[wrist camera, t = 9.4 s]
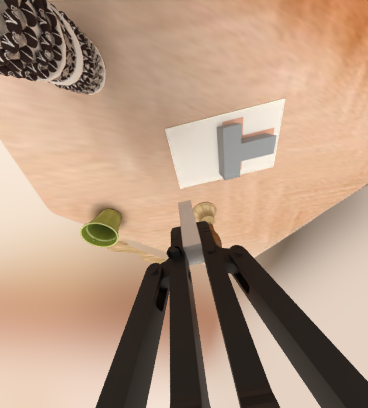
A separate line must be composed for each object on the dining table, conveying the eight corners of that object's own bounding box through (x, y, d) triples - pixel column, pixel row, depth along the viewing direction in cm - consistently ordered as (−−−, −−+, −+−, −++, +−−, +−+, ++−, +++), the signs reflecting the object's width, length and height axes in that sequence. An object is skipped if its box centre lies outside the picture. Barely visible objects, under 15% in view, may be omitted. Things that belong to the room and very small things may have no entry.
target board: (164, 129, 31) (164, 129, 31) (284, 98, 30) (285, 98, 30) (180, 188, 40) (180, 188, 39) (272, 166, 39) (273, 166, 38)
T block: (216, 127, 31) (223, 128, 28) (266, 114, 31) (280, 114, 27) (219, 174, 38) (224, 180, 34) (260, 164, 38) (270, 169, 34)
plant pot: (109, 230, 46) (98, 251, 39) (88, 211, 41) (71, 231, 34) (132, 220, 45) (125, 240, 37) (112, 199, 40) (100, 217, 32)
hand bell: (205, 197, 42) (221, 234, 29) (220, 210, 46) (241, 248, 33) (187, 213, 45) (194, 253, 32) (203, 224, 49) (216, 264, 36)
